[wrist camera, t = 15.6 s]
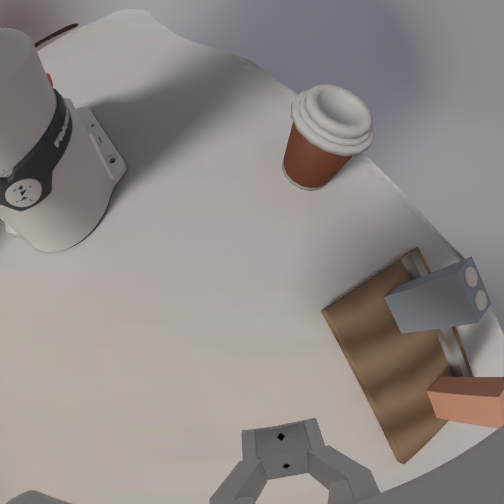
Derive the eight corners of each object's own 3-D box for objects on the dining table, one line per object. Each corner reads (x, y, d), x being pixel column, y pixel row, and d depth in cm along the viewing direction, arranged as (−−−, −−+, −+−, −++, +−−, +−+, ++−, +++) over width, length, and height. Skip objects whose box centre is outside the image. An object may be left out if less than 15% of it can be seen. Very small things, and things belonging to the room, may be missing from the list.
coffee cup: (349, 172, 37) (393, 116, 26) (314, 214, 34) (359, 158, 23) (298, 131, 38) (325, 68, 26) (257, 167, 35) (277, 98, 24)
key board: (321, 311, 31) (333, 307, 27) (411, 250, 35) (426, 242, 32) (397, 461, 26) (412, 468, 23) (469, 387, 30) (485, 388, 27)
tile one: (426, 390, 28) (500, 397, 16) (440, 376, 28) (513, 376, 17) (436, 417, 27) (505, 429, 15) (450, 403, 28) (518, 409, 16)
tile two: (383, 297, 30) (458, 271, 19) (399, 284, 31) (472, 256, 20) (401, 333, 29) (479, 322, 18) (416, 319, 30) (492, 303, 19)
